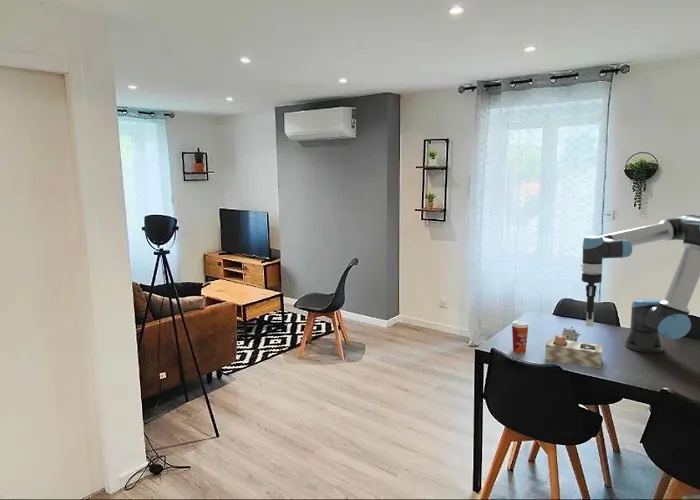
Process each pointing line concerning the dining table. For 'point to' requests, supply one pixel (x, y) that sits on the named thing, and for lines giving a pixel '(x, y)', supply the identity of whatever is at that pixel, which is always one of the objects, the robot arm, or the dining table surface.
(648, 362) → the dining table surface
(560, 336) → the terracotta button
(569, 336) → the spiked grey ball
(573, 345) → the button box
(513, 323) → the paper cup
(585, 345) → the charcoal button
